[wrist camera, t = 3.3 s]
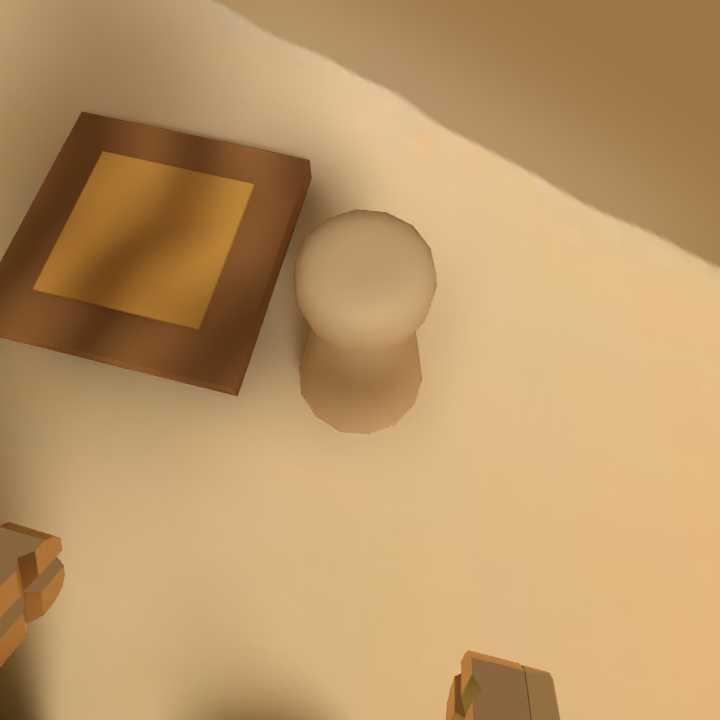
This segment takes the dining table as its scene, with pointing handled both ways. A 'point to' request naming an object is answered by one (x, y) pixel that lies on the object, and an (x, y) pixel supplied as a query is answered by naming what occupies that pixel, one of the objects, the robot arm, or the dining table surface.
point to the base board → (152, 251)
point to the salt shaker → (363, 318)
